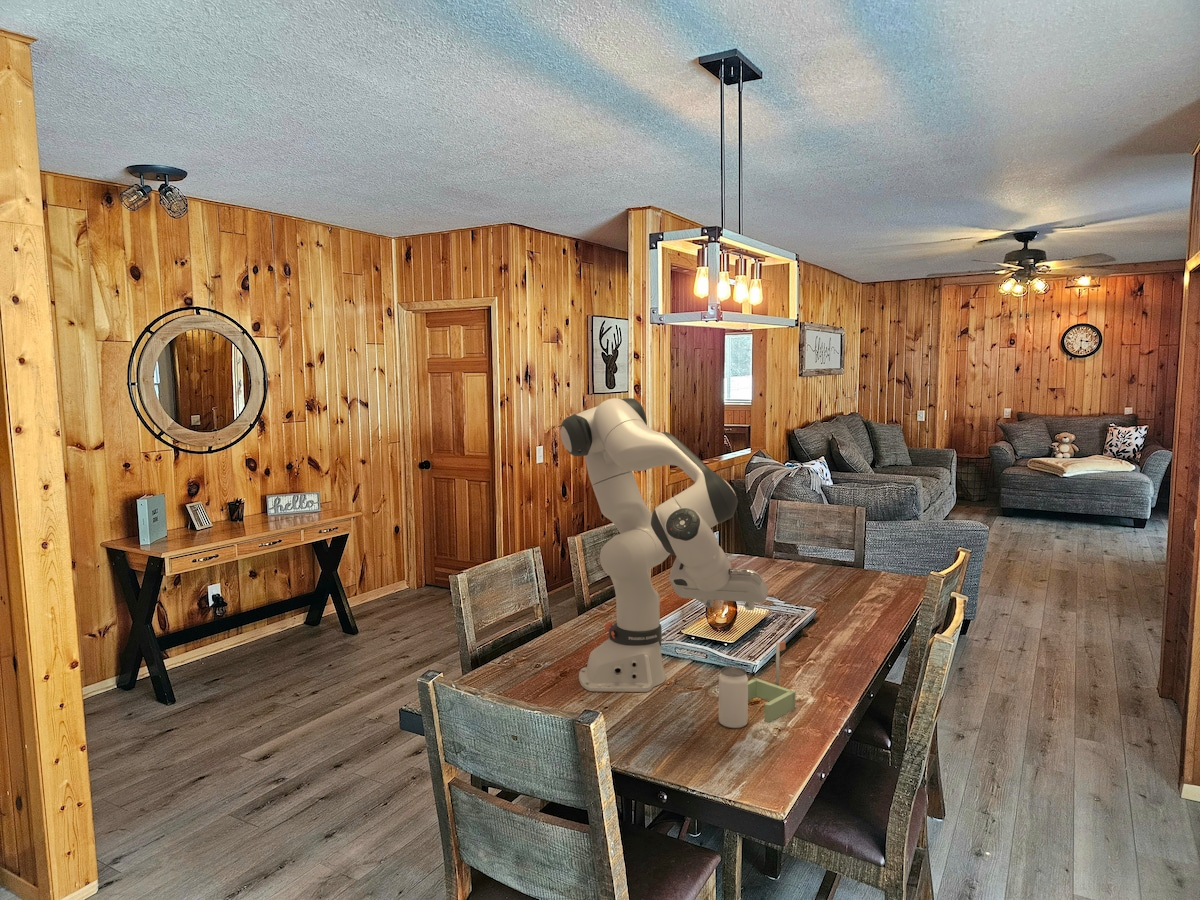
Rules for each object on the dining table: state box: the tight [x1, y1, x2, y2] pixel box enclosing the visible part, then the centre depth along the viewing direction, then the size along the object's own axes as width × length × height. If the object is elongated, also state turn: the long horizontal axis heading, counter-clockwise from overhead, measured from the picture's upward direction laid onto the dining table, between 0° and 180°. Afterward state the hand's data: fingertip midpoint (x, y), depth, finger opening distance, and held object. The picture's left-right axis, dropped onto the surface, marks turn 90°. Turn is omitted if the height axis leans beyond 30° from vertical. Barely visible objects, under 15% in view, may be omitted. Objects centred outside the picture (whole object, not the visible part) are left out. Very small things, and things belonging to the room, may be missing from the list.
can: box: [718, 666, 749, 729], centre depth 176 cm, size 6×6×12 cm
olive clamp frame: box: [748, 640, 797, 723], centre depth 184 cm, size 15×11×14 cm
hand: (730, 606), depth 171 cm, fingers open, 8 cm apart
